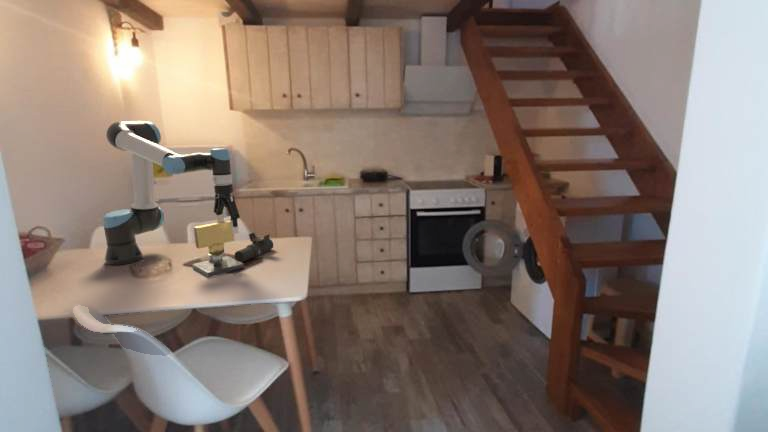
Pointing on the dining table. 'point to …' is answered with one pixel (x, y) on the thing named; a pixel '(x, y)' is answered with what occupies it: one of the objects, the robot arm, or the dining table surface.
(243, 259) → the laser sight
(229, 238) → the lever handle
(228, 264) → the post base
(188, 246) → the dining table surface
